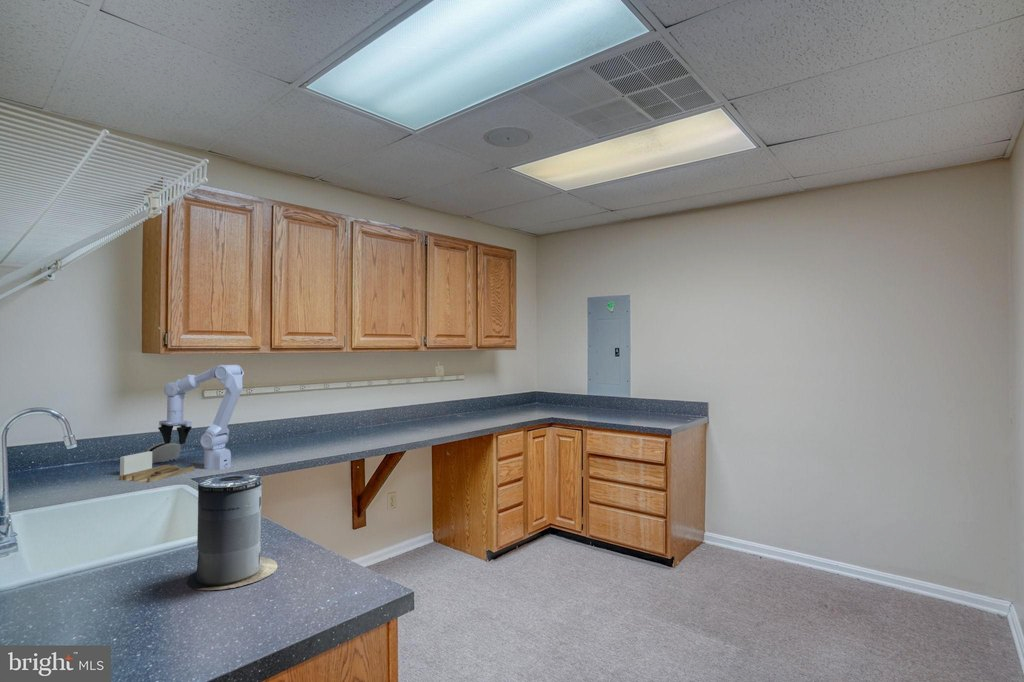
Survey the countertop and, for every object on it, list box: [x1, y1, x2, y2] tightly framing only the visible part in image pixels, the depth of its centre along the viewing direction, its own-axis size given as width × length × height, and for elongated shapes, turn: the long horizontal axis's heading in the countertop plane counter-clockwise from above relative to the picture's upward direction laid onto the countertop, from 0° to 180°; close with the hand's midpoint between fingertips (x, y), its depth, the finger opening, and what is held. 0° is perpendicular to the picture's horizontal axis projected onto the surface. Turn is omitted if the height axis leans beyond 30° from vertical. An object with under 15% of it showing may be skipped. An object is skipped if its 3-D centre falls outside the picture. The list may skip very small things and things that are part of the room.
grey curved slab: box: [145, 441, 182, 465], centre depth 231 cm, size 17×5×10 cm, turn 171°
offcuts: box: [151, 467, 180, 477], centre depth 202 cm, size 4×10×2 cm, turn 167°
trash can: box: [186, 474, 278, 591], centre depth 115 cm, size 17×18×21 cm
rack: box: [118, 464, 195, 483], centre depth 203 cm, size 14×20×3 cm
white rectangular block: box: [119, 450, 153, 476], centre depth 208 cm, size 2×12×8 cm, turn 167°
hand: (174, 443), depth 219 cm, fingers open, 7 cm apart
